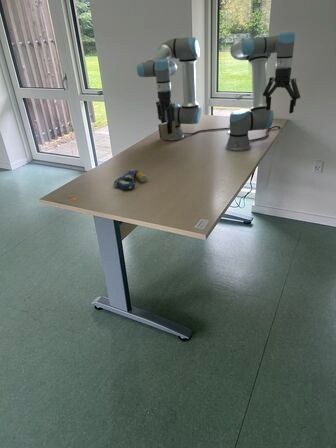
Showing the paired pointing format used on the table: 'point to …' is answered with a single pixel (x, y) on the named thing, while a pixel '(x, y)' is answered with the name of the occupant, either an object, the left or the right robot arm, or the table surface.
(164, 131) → the ink box
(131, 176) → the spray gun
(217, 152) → the table surface
